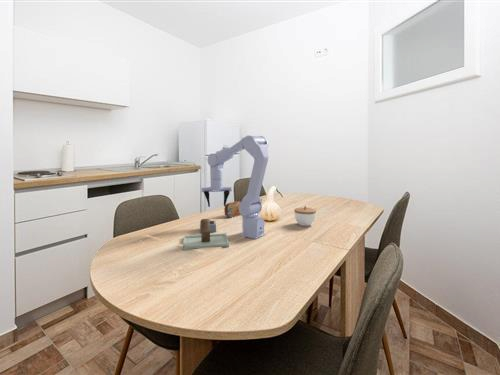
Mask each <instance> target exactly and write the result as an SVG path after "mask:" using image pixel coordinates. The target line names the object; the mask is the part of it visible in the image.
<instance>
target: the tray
mask: <svg viewBox="0 0 500 375" xmlns="http://www.w3.org/2000/svg"><path fill="white" fill-rule="evenodd" d="M213 247H220V248H230V242H229V239H228V235H227V233H210V242H201V234H194V235H193V234H191V235H184V236H183V242H182V250H183V251H188V250H199V249H200V248H213Z"/></svg>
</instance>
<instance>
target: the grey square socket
mask: <svg viewBox="0 0 500 375" xmlns="http://www.w3.org/2000/svg"><path fill="white" fill-rule="evenodd" d="M199 233H200V234H201V220H200V221H199ZM210 233H217V223H216V220H210Z"/></svg>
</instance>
